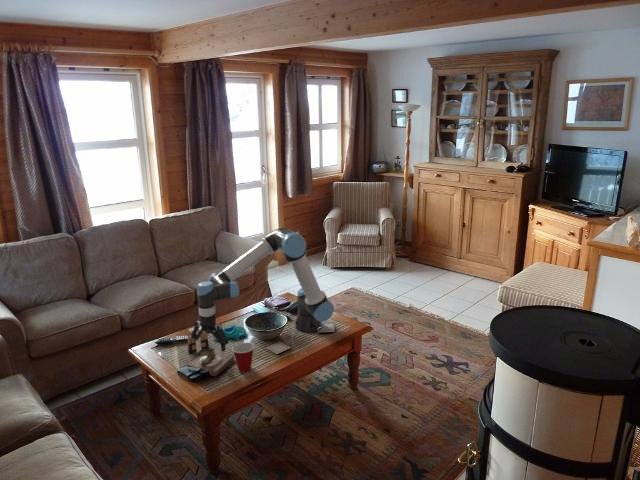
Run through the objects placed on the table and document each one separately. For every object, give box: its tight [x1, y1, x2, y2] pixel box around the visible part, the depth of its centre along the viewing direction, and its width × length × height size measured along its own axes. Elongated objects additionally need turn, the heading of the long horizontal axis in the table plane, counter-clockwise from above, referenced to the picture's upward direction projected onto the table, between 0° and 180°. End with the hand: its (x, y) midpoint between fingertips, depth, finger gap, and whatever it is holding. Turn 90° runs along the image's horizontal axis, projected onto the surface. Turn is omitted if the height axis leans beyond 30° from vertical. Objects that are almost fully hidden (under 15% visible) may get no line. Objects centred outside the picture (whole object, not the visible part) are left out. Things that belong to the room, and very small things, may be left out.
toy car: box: [212, 324, 248, 343], centre depth 263 cm, size 11×18×7 cm, turn 106°
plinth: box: [187, 351, 235, 377], centre depth 235 cm, size 16×16×3 cm
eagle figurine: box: [196, 346, 220, 365], centre depth 232 cm, size 8×7×9 cm
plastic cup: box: [231, 342, 255, 373], centre depth 229 cm, size 11×11×12 cm
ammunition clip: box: [187, 327, 210, 354], centre depth 248 cm, size 11×2×12 cm, turn 123°
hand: (210, 354), depth 234 cm, fingers open, 13 cm apart
